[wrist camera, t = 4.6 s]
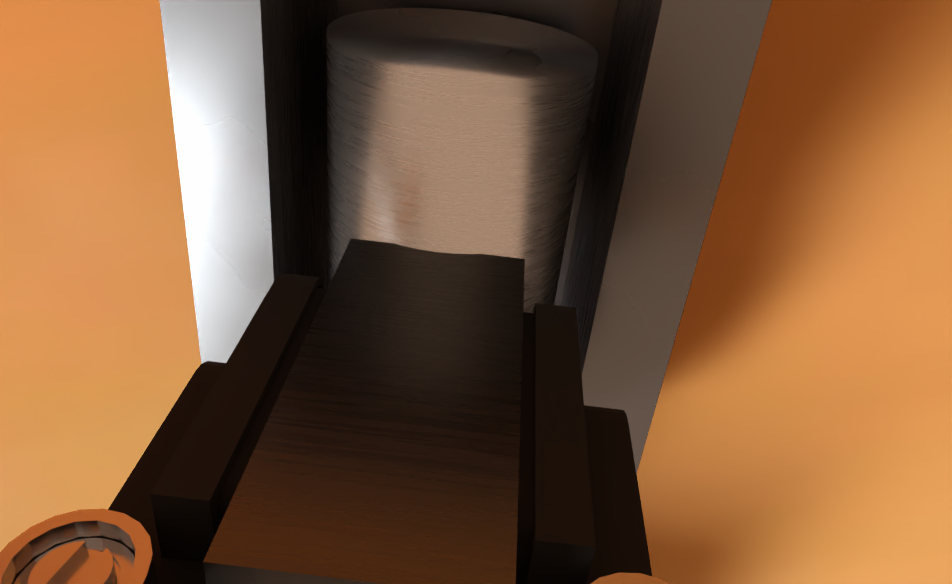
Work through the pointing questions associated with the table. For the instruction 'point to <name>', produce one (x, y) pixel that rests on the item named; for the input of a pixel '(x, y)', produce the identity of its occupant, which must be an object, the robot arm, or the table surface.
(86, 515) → the robot arm
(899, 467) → the table surface
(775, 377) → the table surface
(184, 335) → the table surface
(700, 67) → the sleeve
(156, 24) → the table surface
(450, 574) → the sliding bolt
